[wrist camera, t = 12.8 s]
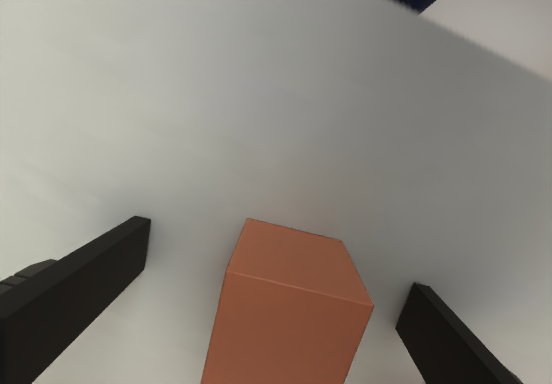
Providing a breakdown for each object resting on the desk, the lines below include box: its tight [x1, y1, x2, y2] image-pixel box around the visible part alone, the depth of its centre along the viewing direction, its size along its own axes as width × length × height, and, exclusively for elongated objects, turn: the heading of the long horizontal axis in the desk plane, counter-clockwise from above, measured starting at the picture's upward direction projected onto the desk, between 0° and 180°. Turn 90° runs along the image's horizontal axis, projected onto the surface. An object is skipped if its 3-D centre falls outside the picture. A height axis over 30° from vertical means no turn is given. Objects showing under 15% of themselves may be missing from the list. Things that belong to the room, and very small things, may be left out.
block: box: [201, 218, 374, 384], centre depth 10 cm, size 5×5×5 cm
